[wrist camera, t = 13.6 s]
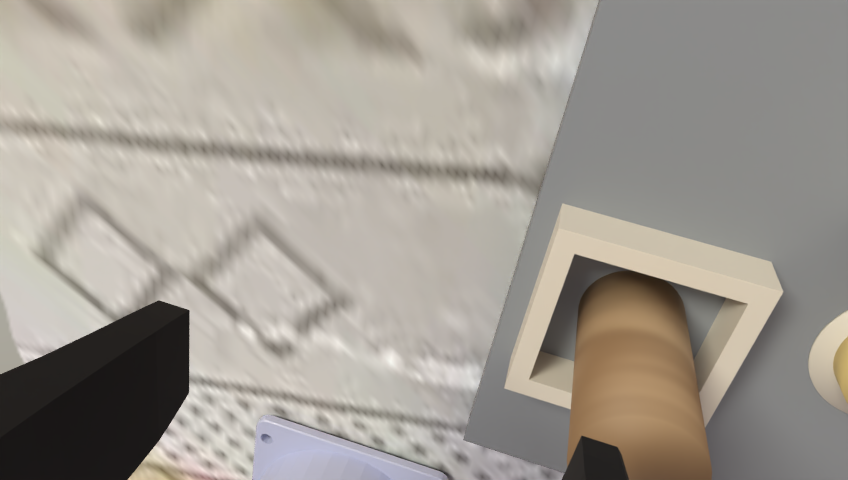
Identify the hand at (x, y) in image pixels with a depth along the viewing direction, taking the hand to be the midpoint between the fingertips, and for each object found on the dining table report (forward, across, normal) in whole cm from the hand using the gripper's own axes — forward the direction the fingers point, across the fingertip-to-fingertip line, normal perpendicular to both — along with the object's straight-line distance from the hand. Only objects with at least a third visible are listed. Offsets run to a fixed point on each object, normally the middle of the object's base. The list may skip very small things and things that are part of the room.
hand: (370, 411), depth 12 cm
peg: (+9, -6, +2) cm, 10 cm away
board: (+10, -9, 0) cm, 13 cm away
